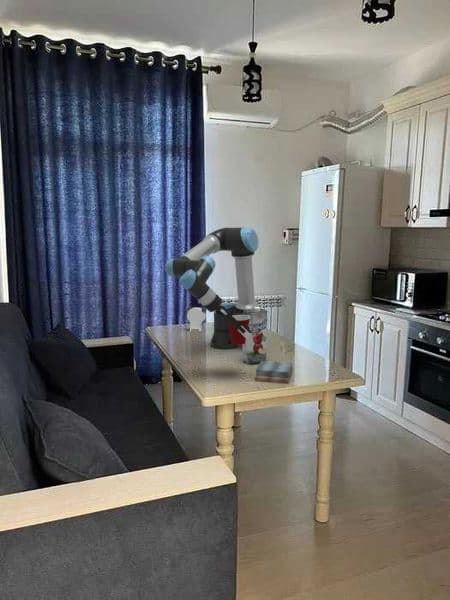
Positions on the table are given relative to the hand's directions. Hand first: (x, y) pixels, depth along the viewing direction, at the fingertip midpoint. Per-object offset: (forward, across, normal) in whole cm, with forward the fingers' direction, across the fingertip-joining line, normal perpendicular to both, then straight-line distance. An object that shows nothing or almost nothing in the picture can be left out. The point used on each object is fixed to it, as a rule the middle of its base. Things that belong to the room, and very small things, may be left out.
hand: (245, 334), depth 203 cm
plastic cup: (+1, 0, -5) cm, 5 cm away
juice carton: (+20, -15, -5) cm, 26 cm away
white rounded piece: (+12, -87, -14) cm, 89 cm away
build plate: (+21, +6, -4) cm, 22 cm away
